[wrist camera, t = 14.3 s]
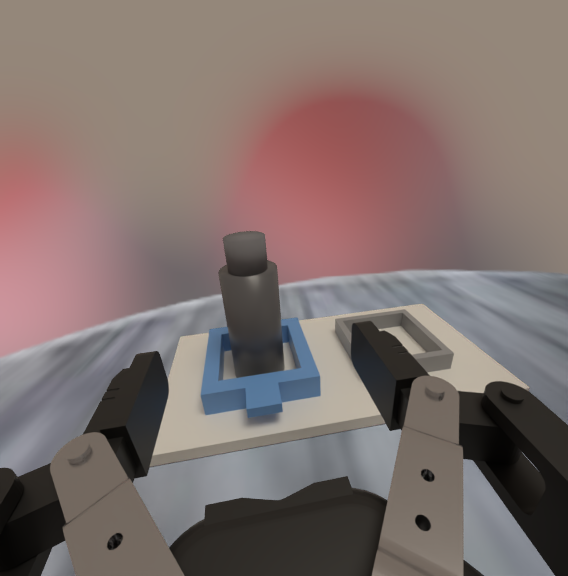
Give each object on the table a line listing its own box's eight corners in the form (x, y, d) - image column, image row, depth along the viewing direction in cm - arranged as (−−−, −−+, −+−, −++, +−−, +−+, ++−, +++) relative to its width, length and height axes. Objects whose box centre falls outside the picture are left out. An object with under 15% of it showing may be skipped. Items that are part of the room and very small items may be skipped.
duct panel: (421, 311, 35) (424, 288, 34) (526, 397, 23) (537, 366, 21) (182, 344, 32) (176, 320, 31) (149, 466, 19) (136, 435, 18)
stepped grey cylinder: (254, 348, 29) (239, 227, 24) (293, 361, 27) (285, 231, 22) (224, 376, 26) (199, 241, 20) (266, 393, 23) (249, 248, 18)
